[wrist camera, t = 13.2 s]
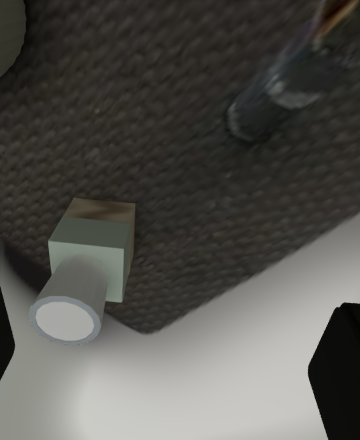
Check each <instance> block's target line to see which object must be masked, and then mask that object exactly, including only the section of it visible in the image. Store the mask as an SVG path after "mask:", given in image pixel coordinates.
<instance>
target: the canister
mask: <svg viewBox="0 0 360 440" xmlns="http://www.w3.org/2000/svg"><path fill="white" fill-rule="evenodd" d="M26 19H27V18H26V15H25V4H24V1H23V0H0V77H1V76H2V75H3V74H4V73H6V72H7V70H8V69H9V67H11V66H12V65H13V64H14V63H15V60H16V57H17V56H18V55H19V54H20V52H21V47H22V45H23V44H24V35H25V33H26Z"/></svg>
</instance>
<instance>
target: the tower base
mask: <svg viewBox="0 0 360 440" xmlns="http://www.w3.org/2000/svg"><path fill="white" fill-rule="evenodd" d="M63 216H65V217H74V218H84V219H93V220H102V221H111V222H120V223H130V224H131V226H130V248H129V269H128V275H129V272H130V267H131V263H132V258H133V254H134V232H135V203H124V202H114V201H103V200H92V199H82V198H74V199H73V200H72V202H71V204H70V205H69V207H68V209H67V210H66V212H65V214H64V215H63Z"/></svg>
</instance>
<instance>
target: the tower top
mask: <svg viewBox="0 0 360 440" xmlns="http://www.w3.org/2000/svg"><path fill="white" fill-rule="evenodd" d="M130 226H131V224H130V223H120V222H111V221H102V220H93V219H84V218H74V217H65V216H63V217H62V219H61V220H60V222H59V224H58V225H57V227H56V229H55V230H54V232H53V234H52V235H51V237H50V239H49V240H48V244H49V253H50V262H51V271H52V275H53V273H54V272H55V270H56V269H57V267H58V266H59V264H60V263H61V262H62V261H63V260H64V259H65V258H66V257H69V256H71V255H74V254H85V255H88V256H91V257H94V258H96V259H97V260H99V261H100V262H102V263H103V264H104V266H105V267H106V269H107V270H108V276H109V279H108V286H107V292H106V298H105V301H113V302H122V300H123V296H124V291H125V287H126V282H127V278H128V269H129V248H130Z"/></svg>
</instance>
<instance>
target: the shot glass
mask: <svg viewBox="0 0 360 440" xmlns="http://www.w3.org/2000/svg"><path fill="white" fill-rule="evenodd" d="M108 279H109V276H108V270H107V269H106V267H105V266H104V264H103V263H102V262H100V261H99V260H97V259H96V258H94V257H91V256H88V255H85V254H74V255H71V256H69V257H66V258H65V259H64V260H63V261H62V262H61V263H60V264H59V266H58V267H57V269H56V270H55V272H54V273H53V275H52V276H51V278H50V279H49V281H48V282H47V284H46V285H45V287H44V288H43V290H42V291H41V293H40V294H39V296H38V297H37V299H36V300H35V301H34V303H33V304H32V306H31V307H30V312H29V320H30V322H31V325H32V327H33V328H34V329H35V330H36V331H37V332H38V333H39V334H40V335H41V336H43V337H45V338H47V339H49V340H50V341H53V342H57V343H60V344H64V345H79V344H82V343H86V342H90V341H91V340H92V339H93V338H95V337H96V336H97V335H98V333H99V330H100V328H101V324H102V317H103V311H104V305H105V298H106V292H107V286H108Z"/></svg>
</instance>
